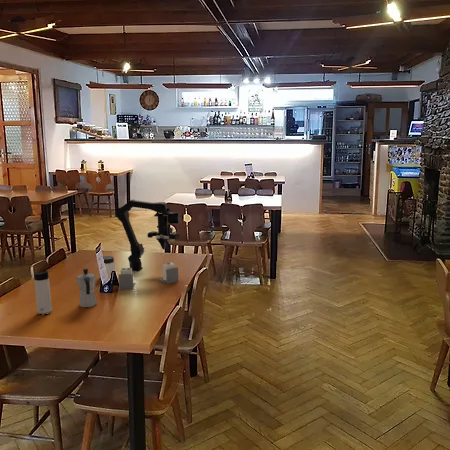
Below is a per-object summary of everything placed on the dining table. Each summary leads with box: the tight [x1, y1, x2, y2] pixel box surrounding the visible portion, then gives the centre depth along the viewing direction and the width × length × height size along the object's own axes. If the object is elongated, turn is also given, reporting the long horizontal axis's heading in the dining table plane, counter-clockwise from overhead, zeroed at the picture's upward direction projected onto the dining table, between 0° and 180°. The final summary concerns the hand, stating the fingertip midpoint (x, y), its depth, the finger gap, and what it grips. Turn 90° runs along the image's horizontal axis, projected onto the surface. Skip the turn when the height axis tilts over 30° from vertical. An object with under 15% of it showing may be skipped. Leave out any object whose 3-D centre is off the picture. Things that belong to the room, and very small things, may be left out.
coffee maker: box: [76, 268, 98, 308], centre depth 228 cm, size 15×9×18 cm, turn 21°
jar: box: [102, 255, 116, 277], centre depth 273 cm, size 9×8×12 cm
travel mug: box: [33, 270, 53, 315], centre depth 219 cm, size 6×7×20 cm
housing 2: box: [158, 266, 179, 285], centre depth 265 cm, size 8×7×8 cm
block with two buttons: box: [119, 267, 133, 275], centre depth 255 cm, size 4×6×9 cm
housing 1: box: [118, 273, 136, 291], centre depth 256 cm, size 8×7×8 cm
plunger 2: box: [162, 261, 176, 281], centre depth 264 cm, size 4×6×9 cm
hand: (163, 249), depth 285 cm, fingers closed
